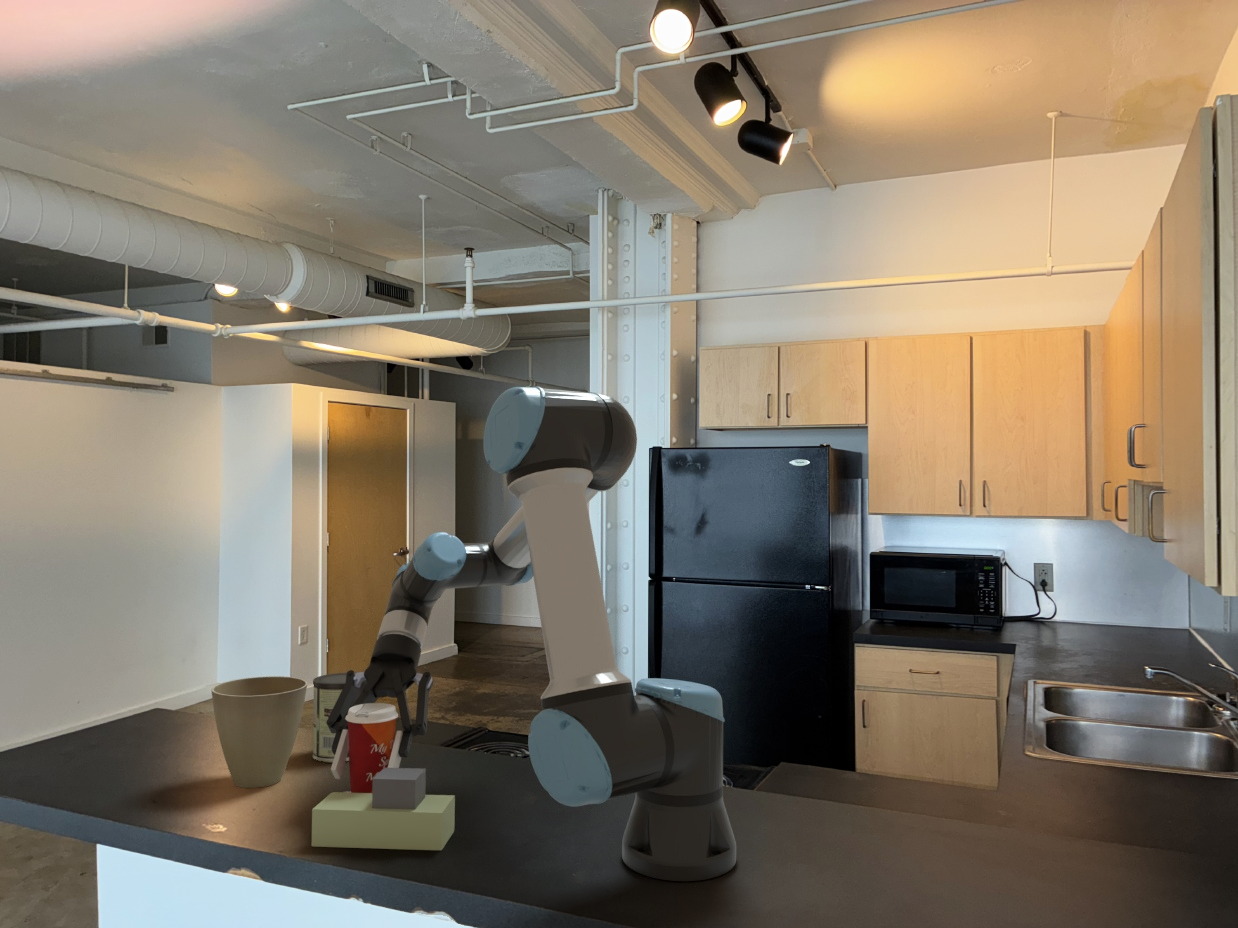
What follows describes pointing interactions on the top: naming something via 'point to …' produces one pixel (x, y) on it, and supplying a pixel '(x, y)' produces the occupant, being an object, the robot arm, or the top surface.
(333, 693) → the coffee can
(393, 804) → the green block with cube
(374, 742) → the paper cup
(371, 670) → the robot arm
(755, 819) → the top surface
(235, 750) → the plant pot
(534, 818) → the top surface
